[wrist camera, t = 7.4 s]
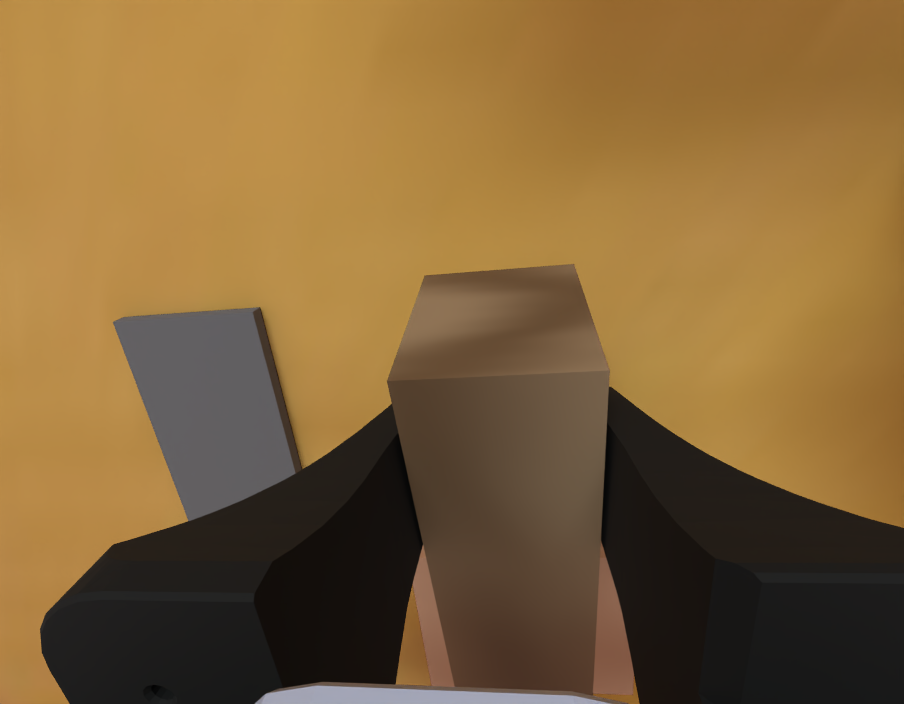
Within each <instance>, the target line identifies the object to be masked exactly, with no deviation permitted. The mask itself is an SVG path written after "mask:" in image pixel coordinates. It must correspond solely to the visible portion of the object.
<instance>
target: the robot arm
mask: <svg viewBox="0 0 904 704" xmlns="http://www.w3.org/2000/svg"><path fill="white" fill-rule="evenodd" d="M601 543H602V546H603V549H604V552H605V556H606V559H607V562H608V565H609V568H610V572H611V575H612V578H613V581H614V585H615V588H616V591H617V595H618V599H619V603H620V607H621V611H622V615H623V620H624V625H625V630H626V635H627V640H628V645H629V650H630V655H631V660H632V666H633V671H634V676H635V681H636V687H637V692H638V697H639V703H640V704H904V528H901V527H898V526H894V525H890V524H886V523H882V522H878V521H875V520H871V519H868V518H864V517H861V516H858V515H855V514H852V513H849V512H846V511H843V510H840V509H837V508H833V507H830V506H827V505H824V504H821V503H818V502H816V501H813V500H810V499H807V498H805V497H802V496H799V495H796V494H794V493H791V492H789V491H786V490H784V489H781V488H779V487H776V486H774V485H772V484H769V483H767V482H764V481H762V480H759V479H757V478H755V477H753V476H750V475H748V474H746V473H744V472H742V471H740V470H738V469H736V468H734V467H732V466H730V465H728V464H726V463H724V462H722V461H720V460H718V459H716V458H714V457H712V456H710V455H708V454H707V453H705V452H703V451H701V450H700V449H698V448H696V447H694V446H693V445H691V444H690V443H688V442H686V441H685V440H683V439H682V438H680V437H678V436H677V435H675V434H674V433H672V432H671V431H669V430H668V429H666V428H665V427H663V426H662V425H661V424H659V423H658V422H656V421H655V420H654V419H652V418H651V417H649V416H648V415H647V414H645V413H644V412H643V411H641V410H640V409H639V408H637V407H636V406H635V405H634V404H632V403H631V402H630V401H628V400H627V399H626V398H625V397H623V396H622V395H621V394H620V393H618V392H617V391H616V390H614V389H613V388H611V387H609V392H608V411H607V431H606V450H605V469H604V489H603V508H602V527H601ZM422 547H423V541H422V537H421V532H420V528H419V523H418V519H417V514H416V510H415V505H414V501H413V496H412V492H411V487H410V483H409V478H408V474H407V469H406V465H405V460H404V456H403V451H402V447H401V442H400V438H399V433H398V428H397V424H396V419H395V415H394V410H393V406H392V404H391V405H390V406H389V407H388V408H386V409H385V410H384V411H383V412H382V413H380V414H379V415H378V416H377V417H375V418H374V419H373V420H372V421H370V422H369V423H368V424H367V425H365V426H364V427H363V428H362V429H361V430H359V431H358V432H357V433H355V434H354V435H353V436H351V437H350V438H349V439H347V440H346V441H344V442H343V443H342V444H340V445H339V446H338V447H336V448H335V449H333V450H332V451H331V452H329V453H328V454H326V455H325V456H323V457H322V458H320V459H319V460H317V461H316V462H314V463H312V464H311V465H309V466H308V467H306V468H304V469H302V470H301V471H299V472H297V473H295V474H294V475H292V476H290V477H288V478H287V479H285V480H283V481H281V482H279V483H277V484H275V485H273V486H271V487H269V488H267V489H264V490H262V491H260V492H258V493H256V494H254V495H252V496H250V497H248V498H246V499H244V500H241V501H239V502H237V503H234V504H232V505H230V506H227V507H225V508H222V509H220V510H217V511H215V512H212V513H210V514H207V515H204V516H202V517H199V518H196V519H194V520H191V521H188V522H185V523H182V524H179V525H176V526H173V527H170V528H167V529H163V530H160V531H157V532H154V533H150V534H147V535H144V536H141V537H137V538H134V539H131V540H128V541H124V542H120V543H117V544H114V545H112V546H111V547H110V548H109V549H108V550H107V551H106V552H105V553H104V554H103V555H102V556H101V557H100V559H99V560H98V561H97V562H96V563H95V564H94V565H93V566H92V567H91V568H90V569H89V570H88V571H87V572H86V573H85V574H84V575H83V576H82V577H81V578H80V579H79V580H78V581H77V582H76V583H75V584H74V585H73V586H72V587H71V588H70V589H69V590H68V591H67V592H66V593H65V594H64V595H63V596H62V597H61V599H60V600H59V601H58V602H57V603H56V604H55V605H54V606H53V607H52V608H51V609H50V610H49V611H48V612H47V613H46V615H45V617H44V620H43V623H42V625H41V628H40V634H41V647H42V654H43V656H44V658H45V661H46V663H47V665H48V668H49V670H50V672H51V673H52V675H53V677H54V678H55V680H56V682H57V683H58V685H59V687H60V688H61V690H62V692H63V693H64V695H65V697H66V698H67V700H68V702H69V703H70V704H628V703H625V702H620V701H615V700H611V699H606V698H601V697H596V696H592V695H587V694H582V693H578V692H573V691H549V690H523V689H497V688H471V687H444V686H418V685H395V684H396V677H397V670H398V663H399V656H400V650H401V643H402V637H403V631H404V624H405V618H406V612H407V606H408V601H409V597H410V592H411V588H412V584H413V580H414V577H415V573H416V569H417V565H418V562H419V558H420V554H421V550H422Z"/></svg>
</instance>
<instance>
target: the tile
mask: <svg viewBox="0 0 904 704" xmlns="http://www.w3.org/2000/svg"><path fill="white" fill-rule="evenodd" d="M413 588H414V594H415V599H416V605H417V610H418V615H419V621H420V626H421V631H422V637H423V642H424V648H425V653H426V658H427V664H428V669H429V675H430V680H431V685H432V686H444V687H455V686H454V682H453V677H452V673H451V668H450V663H449V659H448V654H447V650H446V645H445V641H444V636H443V632H442V627H441V623H440V618H439V614H438V609H437V605H436V600H435V596H434V591H433V587H432V582H431V578H430V573H429V569H428V564H427V560H426V555H425V551H424V546H423V547H422V550H421V554H420V558H419V562H418V565H417V569H416V573H415V577H414V580H413ZM633 682H634V671H633V666H632V660H631V655H630V650H629V645H628V640H627V635H626V630H625V625H624V620H623V615H622V611H621V607H620V603H619V599H618V595H617V591H616V588H615V585H614V581H613V578H612V575H611V572H610V568H609V565H608V562H607V559H606V556H605V552H604V549H603V546H602V543H601V547H600V566H599V586H598V605H597V624H596V644H595V663H594V682H593V693H594V694H621V695H633Z"/></svg>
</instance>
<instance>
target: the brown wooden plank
mask: <svg viewBox="0 0 904 704" xmlns="http://www.w3.org/2000/svg"><path fill="white" fill-rule="evenodd" d="M609 373H610V370H609V367H608V364H607V361H606V358H605V355H604V352H603V349H602V346H601V343H600V340H599V337H598V334H597V331H596V328H595V325H594V322H593V319H592V316H591V313H590V311H589V308H588V305H587V302H586V299H585V296H584V293H583V290H582V287H581V284H580V281H579V278H578V275H577V272H576V269H575V266H574V264H569V265H556V266H543V267H530V268H517V269H504V270H491V271H478V272H465V273H452V274H439V275H426V276H425V277H424V279H423V282H422V285H421V288H420V291H419V293H418V296H417V299H416V302H415V305H414V307H413V310H412V313H411V316H410V318H409V321H408V324H407V327H406V330H405V332H404V335H403V338H402V341H401V344H400V346H399V349H398V352H397V355H396V358H395V360H394V363H393V366H392V369H391V371H390V374H389V377H388V380H387V383H388V388H389V392H390V397H391V401H392V406H393V410H394V415H395V419H396V424H397V428H398V433H399V438H400V442H401V447H402V451H403V456H404V460H405V465H406V469H407V474H408V478H409V483H410V487H411V492H412V496H413V501H414V505H415V510H416V514H417V519H418V523H419V528H420V532H421V537H422V541H423V546H424V551H425V555H426V560H427V564H428V569H429V573H430V578H431V582H432V587H433V591H434V596H435V600H436V605H437V609H438V614H439V618H440V623H441V627H442V632H443V636H444V641H445V645H446V650H447V654H448V659H449V663H450V668H451V673H452V677H453V682H454V686H455V687H471V688H497V689H523V690H549V691H573V692H578V693H582V694H587V695H592V696H593V682H594V663H595V644H596V624H597V605H598V586H599V566H600V547H601V527H602V508H603V489H604V469H605V450H606V431H607V411H608V392H609Z"/></svg>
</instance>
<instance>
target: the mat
mask: <svg viewBox="0 0 904 704" xmlns="http://www.w3.org/2000/svg"><path fill="white" fill-rule="evenodd" d="M113 324H114V326H115V329H116V331H117V334H118V337H119V339H120V342H121V345H122V347H123V350H124V352H125V355H126V358H127V360H128V363H129V366H130V368H131V371H132V373H133V376H134V379H135V381H136V384H137V387H138V389H139V392H140V395H141V397H142V400H143V402H144V405H145V408H146V410H147V413H148V416H149V418H150V421H151V423H152V426H153V429H154V431H155V434H156V437H157V439H158V442H159V444H160V447H161V450H162V452H163V455H164V458H165V460H166V463H167V465H168V468H169V471H170V473H171V476H172V479H173V481H174V484H175V486H176V489H177V492H178V494H179V497H180V500H181V502H182V505H183V507H184V510H185V513H186V515H187V518H188V521H191V520H194V519H196V518H199V517H202V516H204V515H207V514H210V513H212V512H215V511H217V510H220V509H222V508H225V507H227V506H230V505H232V504H234V503H237V502H239V501H241V500H244V499H246V498H248V497H250V496H252V495H254V494H256V493H258V492H260V491H262V490H264V489H267V488H269V487H271V486H273V485H275V484H277V483H279V482H281V481H283V480H285V479H287V478H288V477H290V476H292V475H294V474H295V473H297V472H299V471H301V470H302V468H301V464H300V460H299V456H298V453H297V449H296V445H295V441H294V437H293V433H292V430H291V426H290V422H289V418H288V414H287V410H286V406H285V403H284V399H283V395H282V391H281V387H280V383H279V380H278V376H277V372H276V368H275V364H274V360H273V356H272V353H271V349H270V345H269V341H268V337H267V333H266V329H265V326H264V322H263V318H262V314H261V310H260V307H259V308H245V309H231V310H217V311H203V312H189V313H175V314H161V315H147V316H133V317H123V318H121V319H118V320H116V321H114V322H113Z"/></svg>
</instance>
